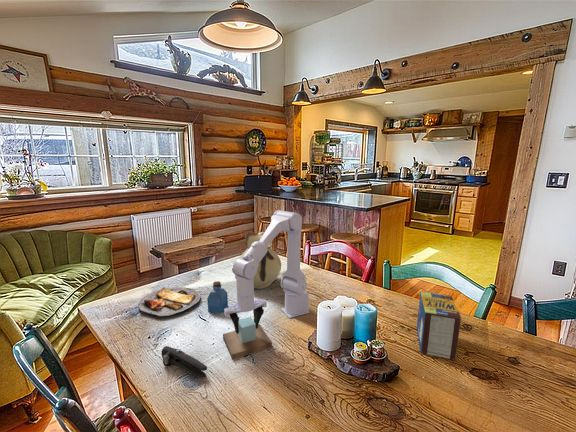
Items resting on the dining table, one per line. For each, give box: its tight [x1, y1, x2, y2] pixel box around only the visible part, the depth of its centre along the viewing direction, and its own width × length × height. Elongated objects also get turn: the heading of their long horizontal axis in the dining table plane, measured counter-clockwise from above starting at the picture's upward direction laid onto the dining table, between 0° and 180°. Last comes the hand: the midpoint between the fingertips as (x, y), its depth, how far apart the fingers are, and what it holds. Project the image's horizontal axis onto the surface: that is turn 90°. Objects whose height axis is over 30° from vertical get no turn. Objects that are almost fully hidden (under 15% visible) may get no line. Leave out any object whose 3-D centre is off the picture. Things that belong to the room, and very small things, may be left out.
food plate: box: [137, 286, 201, 317], centre depth 127 cm, size 25×23×4 cm
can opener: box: [161, 345, 208, 379], centre depth 88 cm, size 18×7×6 cm, turn 61°
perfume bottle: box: [206, 281, 229, 314], centre depth 121 cm, size 6×6×12 cm
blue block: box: [238, 316, 256, 343], centre depth 100 cm, size 5×5×6 cm
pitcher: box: [238, 231, 282, 289], centre depth 144 cm, size 22×24×25 cm
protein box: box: [416, 291, 462, 361], centre depth 99 cm, size 10×15×16 cm
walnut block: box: [222, 323, 273, 360], centre depth 100 cm, size 14×12×2 cm
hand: (246, 329), depth 99 cm, fingers open, 6 cm apart
